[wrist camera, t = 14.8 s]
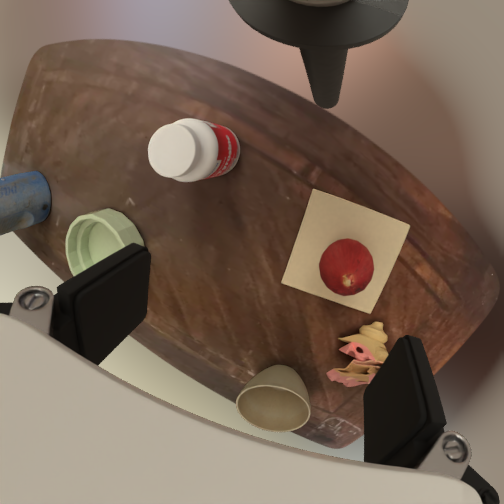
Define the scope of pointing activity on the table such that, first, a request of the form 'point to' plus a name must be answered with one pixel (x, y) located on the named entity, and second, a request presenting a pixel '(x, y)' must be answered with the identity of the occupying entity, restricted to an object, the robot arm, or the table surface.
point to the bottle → (23, 201)
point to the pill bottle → (193, 150)
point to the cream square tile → (341, 227)
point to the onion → (346, 267)
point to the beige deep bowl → (275, 400)
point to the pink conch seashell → (362, 356)
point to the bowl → (98, 238)
